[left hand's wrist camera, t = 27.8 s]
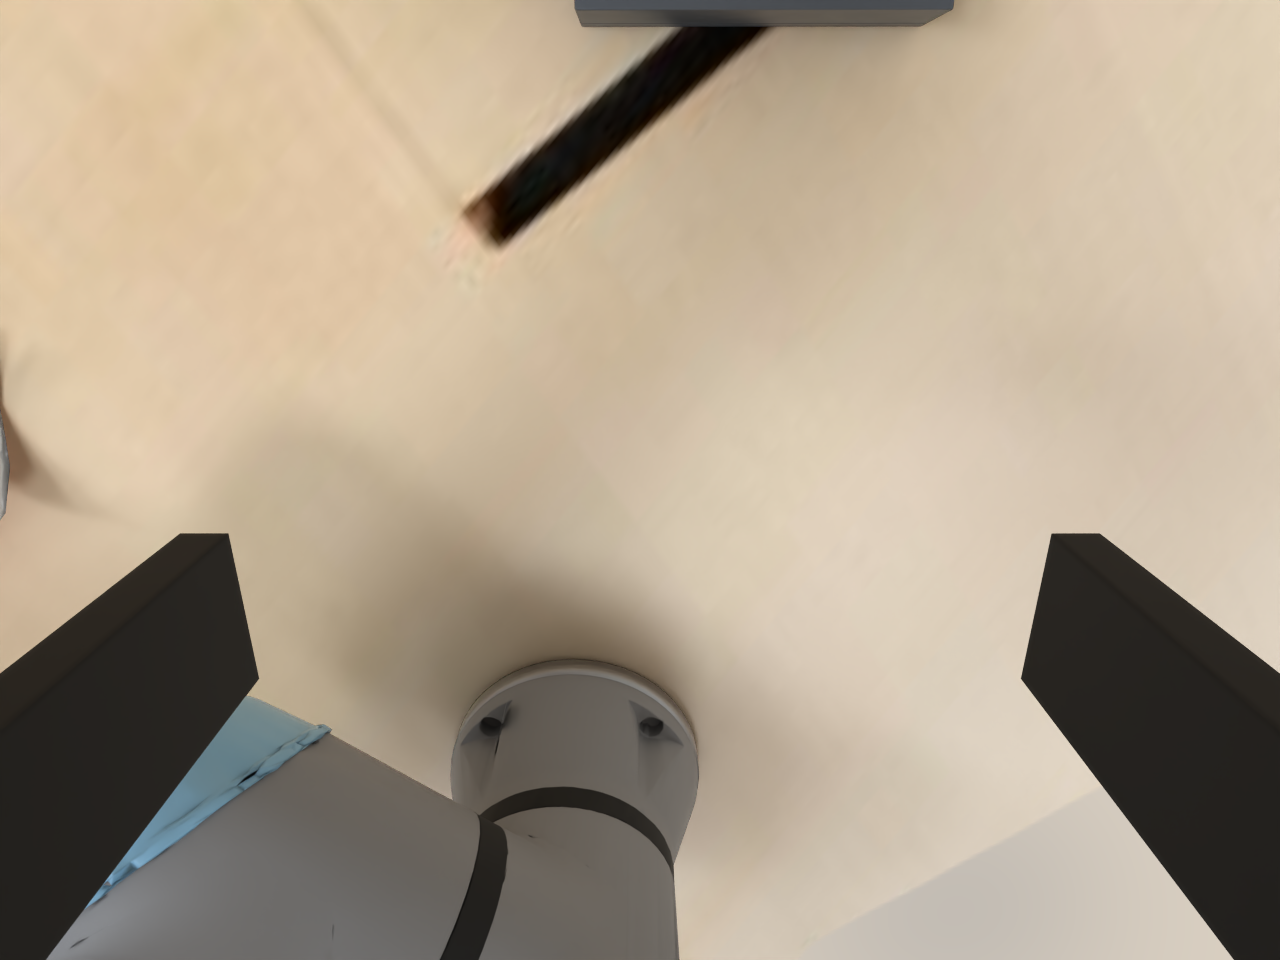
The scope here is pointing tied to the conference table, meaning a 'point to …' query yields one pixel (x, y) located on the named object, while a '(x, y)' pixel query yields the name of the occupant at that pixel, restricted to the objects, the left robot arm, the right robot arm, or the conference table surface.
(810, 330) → the conference table surface
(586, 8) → the tray
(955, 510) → the conference table surface
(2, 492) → the fish
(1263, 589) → the conference table surface
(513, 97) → the conference table surface
